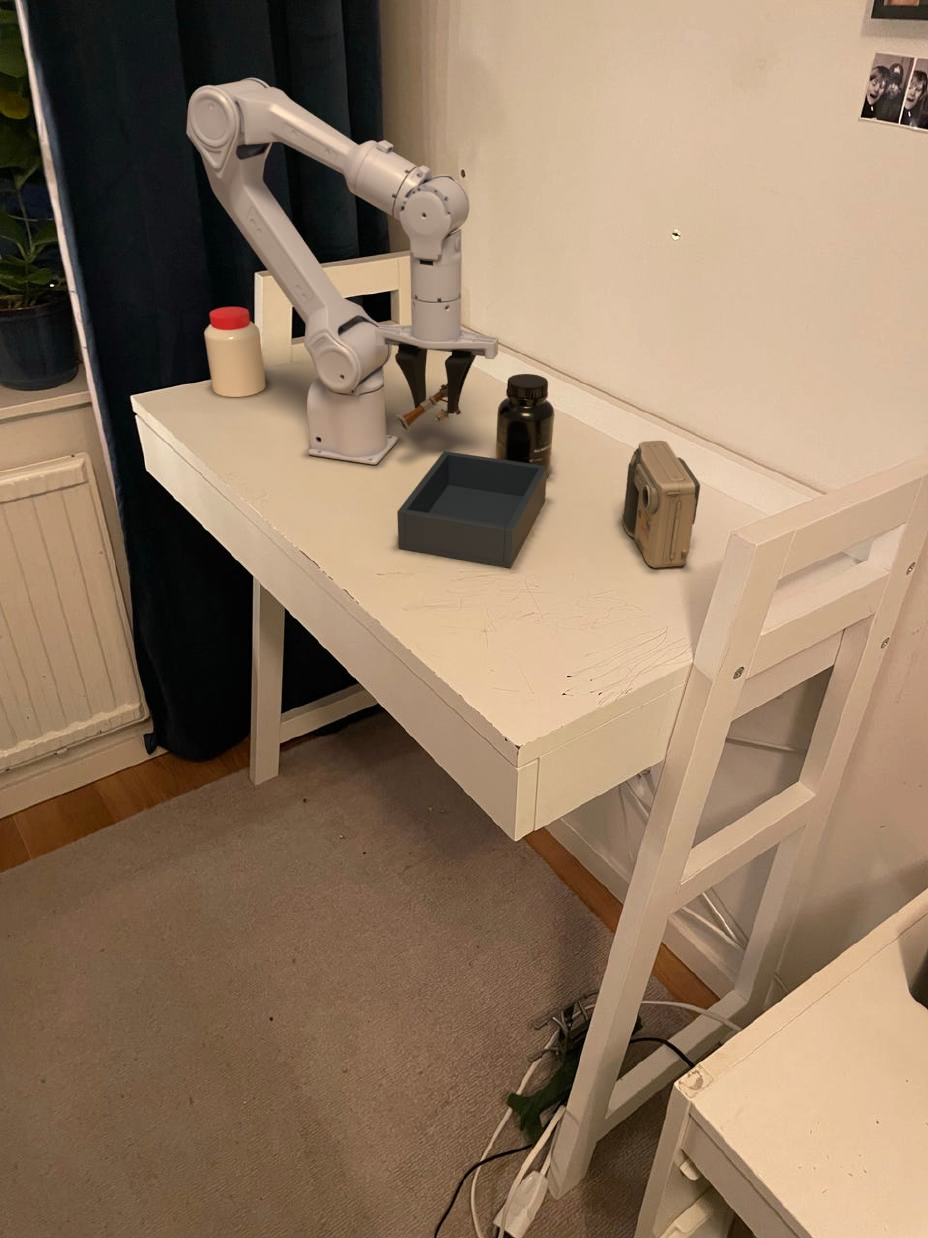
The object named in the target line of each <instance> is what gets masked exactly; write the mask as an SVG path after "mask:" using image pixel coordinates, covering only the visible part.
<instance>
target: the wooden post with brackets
mask: <svg viewBox="0 0 928 1238" xmlns="http://www.w3.org/2000/svg"><path fill="white" fill-rule="evenodd" d="M444 398H445V399H444ZM446 398H447V400H446ZM447 401H448V383H446V384H444V383H443V384H441V385H440V388H439V389H438V391H437V392H436V393H435V394H433V395H430V396H428V398H426V400H425V401H424V402H423V403H421V404H420V406H419V407H417V408H416V409H415V408H414V409H412V410H410V411H409V412H407V413H405V414H402V415H401V414H400V413H398V414H396V415H395V417H397V419H398V421H399V423H400V425H401V427H402V428H403V429H404V430H406V431H407V432H408V433H409V432H410V431H412V430H411V426H412V424H413V423H415V421H417V420H418V419H419V418H420V417H421V416H422V415H423V414H424V413H426V414H427V413H428V412H429V411H430V410H432V409H434V406H435V407H436V406H438V403H439V402H444V403H447ZM440 410H441V411H439V412H438V413H435V414H434V415H435V417H434V418H433V421H434V422H435V423H438V422H440V423H443V422H444V420H445V419H449V415H450V413H448V409H447V408H446V409H443V408H441V409H440ZM461 413H462V411H461V410H460V407H459V406H458V409H457V410H456V411H455V413H454V414H455V415H457V416H459V415H460V414H461Z"/></svg>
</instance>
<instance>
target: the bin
mask: <svg viewBox="0 0 928 1238" xmlns="http://www.w3.org/2000/svg"><path fill="white" fill-rule="evenodd" d="M547 477H548V476H547V466H542V465H536V464H529V463H522V462H516V461H509V460H502V459H495V458H494V457H487V456H481V455H473V454H468V453H461V452H455V451H454V452H453V451H446V450H443V451H442V453H441V454H440V455H439V457H438V458H437V459H436V461H435V462H434V464H433V465H432V466H431V467H430V469H429V470H428V471H427V472H426V474H425V475H424V476H423V477H422V479H421V480H420V481H419V483H418V484H417V485H416V486H415V488H414V489H413V491H412V492H411V493H410V494H409V496H408V497H407V498H406V500H404V502H403V503H402V504H401V506H400V507H399V508H398V510H397V512H396V513H397V517H396V518H397V541H398V542H397V543H398V549H399V550H403V551H409V552H416V553H421V554H425V555H426V554H427V555H433V556H437V557H443V558H449V559H455V560H461V561H467V562H473V563H478V564H485V565H489V566H496V567H502V568H506V569H511V568H512V566H513V564H514V562H515V560H516V558H517V556H518V554H519V552H520V551H521V548H522V547H523V545H524V543H525V541H526V539H527V537H528V535H529V533H530V531H531V529H532V527H533V525H534V523H535V521H536V519H537V518H538V515H539V514H540V512H541V510H542V508H543V506H544V504H545V502H546V492H547V491H546V490H547V479H548V478H547Z"/></svg>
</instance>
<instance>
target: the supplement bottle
mask: <svg viewBox="0 0 928 1238" xmlns="http://www.w3.org/2000/svg"><path fill="white" fill-rule="evenodd" d="M506 384H507V385H506V390H505V396H506V397H505V398H504V399H503V400H502V401H500V403H499V405H498V407H497V415H496V416H497V417H496V437H495V438H496V439H495V459H502V460H509V461H516V462H522V463H529V464H536V465H542V466H547V477H548V476H549V474H550V470H551V469H550V468H551V461H552V459H551V458H552V448H553V447H552V446H553V436H554V425H555V424H554V422H555V409H554V406H553V405H552V403H551V402H550V401H549V400H548V397H549V391H548V389H549V381H548V379H547V378H546V377H544V376H541V375H538V374H533V373H520V374H519V373H518V374H514V375H512V376H510V377H508V379H507V383H506Z"/></svg>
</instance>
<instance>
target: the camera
mask: <svg viewBox="0 0 928 1238" xmlns="http://www.w3.org/2000/svg"><path fill="white" fill-rule="evenodd" d="M625 488H626V489H625V497H624V503H623V505H624V506H623V514H622V526H623V528H624V530H625V532H626V534H627V535H628V536H629V537H631V538H633V539H634V540H635V543H636V544H637V546H638V548H639V550H640V552H641V555H642V556H643V559H644V560H645V563H646V564H647V566H650V567H652V568H654V569H655V568H666V567H680V566H683V565H685V564H686V560H687V558H688V556H689V553H690V546H691V538H692V533H693V525H694V524H695V522H696V517H697V508H698V505H699V497H700V491H701V484H700V482H699V480H698V479H697V477H696V476H695V475H694V473H693V471H692V469H690V467H689V465H688V464H687V462H686V461H685V460H684V459H683V458H681V457H679V456H677V454H675V451H673V449H672V447H671V446H670V444H669V443H668V442H667V441H665V440H649V441H641V442H640V443H639V444H638V448H636V449H635V450H634V451H633V455H632V456H631V459H630V462H629V463H628V466H627V477H626V487H625Z"/></svg>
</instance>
